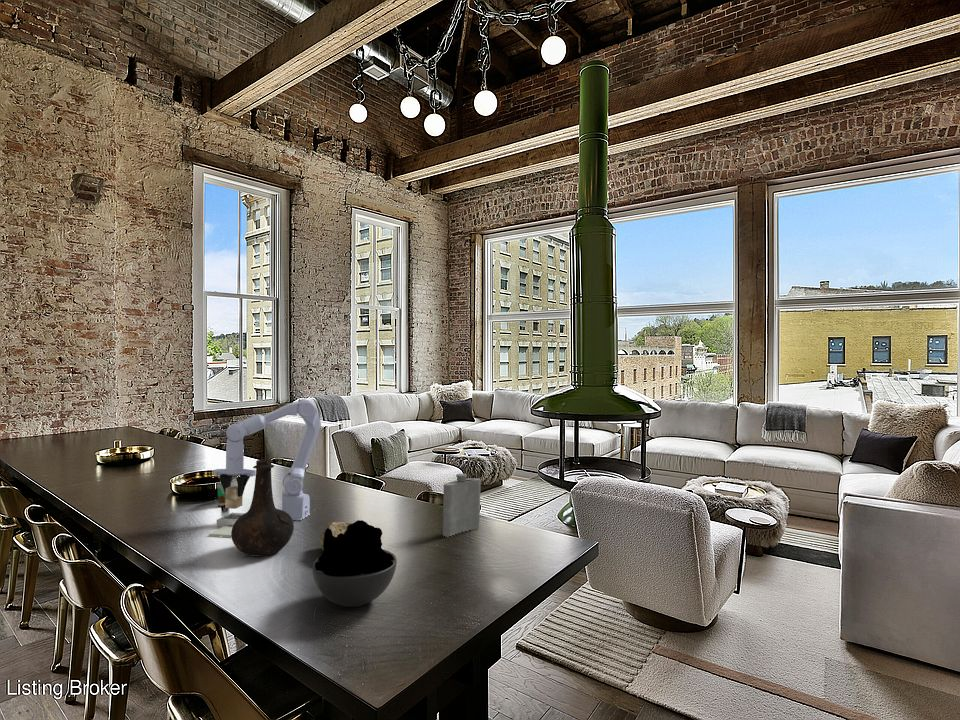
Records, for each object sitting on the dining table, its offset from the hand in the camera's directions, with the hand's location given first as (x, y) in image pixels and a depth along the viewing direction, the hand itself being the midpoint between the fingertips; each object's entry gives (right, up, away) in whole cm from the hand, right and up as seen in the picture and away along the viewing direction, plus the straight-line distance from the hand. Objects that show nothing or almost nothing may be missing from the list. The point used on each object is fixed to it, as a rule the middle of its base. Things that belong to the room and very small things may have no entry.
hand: (234, 495), depth 183 cm
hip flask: (+81, -12, -4) cm, 82 cm away
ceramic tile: (+3, -10, -10) cm, 15 cm away
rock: (+48, -11, -28) cm, 56 cm away
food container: (-13, -10, +25) cm, 30 cm away
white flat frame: (+3, -10, 0) cm, 11 cm away
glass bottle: (+21, -10, -26) cm, 35 cm away
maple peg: (0, -4, 0) cm, 4 cm away
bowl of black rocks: (+58, -11, -59) cm, 83 cm away
